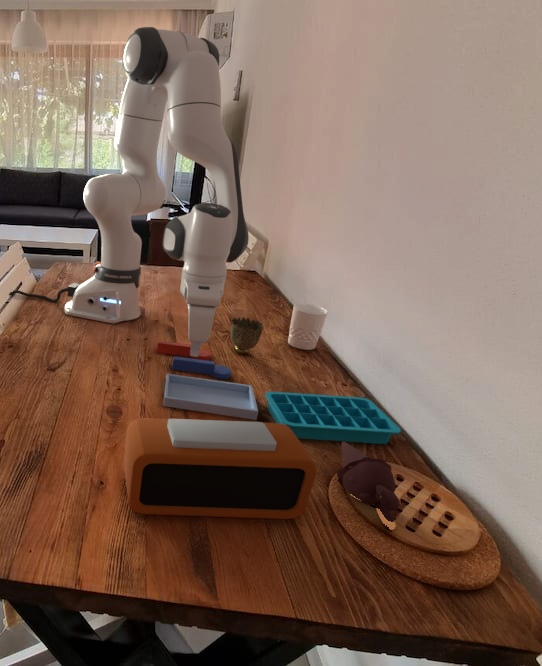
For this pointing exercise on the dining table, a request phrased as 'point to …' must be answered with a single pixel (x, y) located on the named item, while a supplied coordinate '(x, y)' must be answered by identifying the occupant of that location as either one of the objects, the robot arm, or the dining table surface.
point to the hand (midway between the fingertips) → (193, 346)
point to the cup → (245, 334)
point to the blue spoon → (201, 367)
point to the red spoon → (181, 350)
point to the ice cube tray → (331, 417)
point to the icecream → (369, 481)
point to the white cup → (306, 326)
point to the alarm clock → (216, 469)
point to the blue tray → (210, 396)
